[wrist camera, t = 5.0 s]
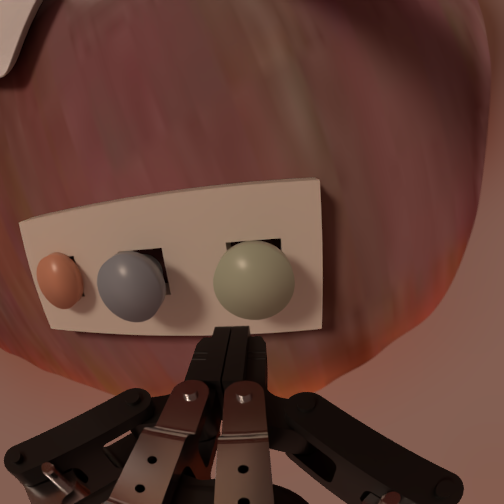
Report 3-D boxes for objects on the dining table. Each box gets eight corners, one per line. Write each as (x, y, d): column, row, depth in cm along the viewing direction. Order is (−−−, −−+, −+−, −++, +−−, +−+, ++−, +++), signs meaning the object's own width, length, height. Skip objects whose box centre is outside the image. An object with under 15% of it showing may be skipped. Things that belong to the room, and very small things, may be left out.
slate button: (137, 227, 21) (115, 241, 18) (187, 268, 22) (173, 289, 19) (109, 273, 23) (87, 291, 19) (155, 310, 24) (139, 334, 20)
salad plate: (96, -60, 12) (85, -72, 9) (23, 80, 19) (3, 77, 16) (7, -27, 11) (-5, -32, 8) (-43, 87, 18) (-58, 87, 15)
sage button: (251, 216, 21) (248, 228, 17) (304, 260, 22) (311, 280, 18) (208, 267, 22) (197, 288, 19) (259, 306, 23) (258, 332, 19)
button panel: (313, 177, 22) (319, 179, 19) (317, 313, 25) (321, 328, 23) (33, 216, 24) (18, 222, 21) (62, 317, 27) (51, 328, 25)
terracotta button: (68, 233, 24) (44, 244, 20) (104, 266, 25) (84, 282, 21) (53, 270, 25) (31, 284, 22) (86, 301, 26) (67, 319, 22)
